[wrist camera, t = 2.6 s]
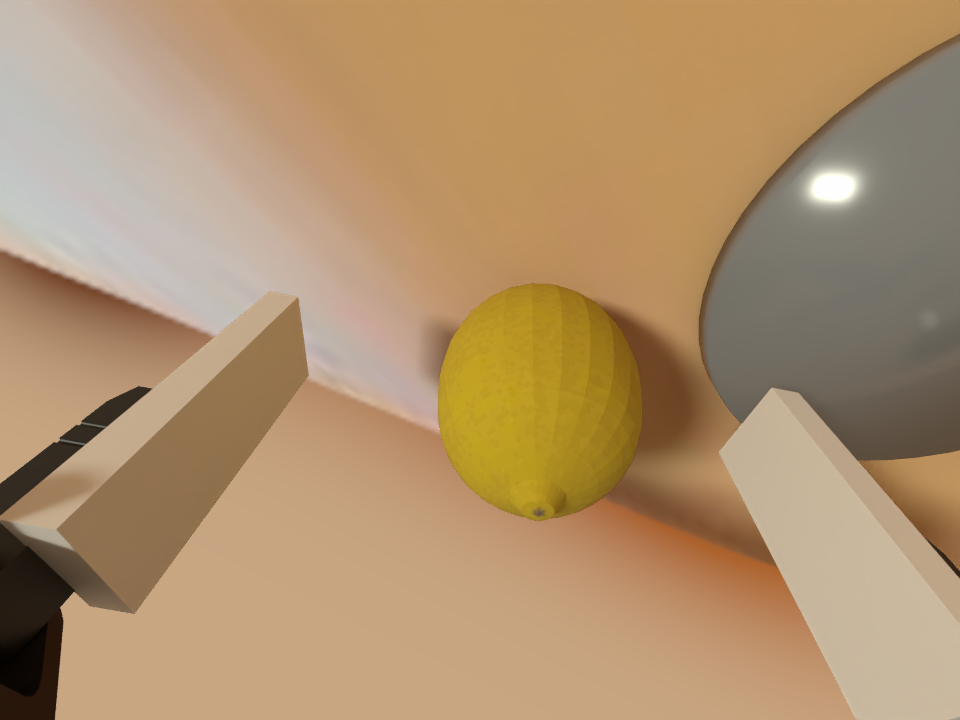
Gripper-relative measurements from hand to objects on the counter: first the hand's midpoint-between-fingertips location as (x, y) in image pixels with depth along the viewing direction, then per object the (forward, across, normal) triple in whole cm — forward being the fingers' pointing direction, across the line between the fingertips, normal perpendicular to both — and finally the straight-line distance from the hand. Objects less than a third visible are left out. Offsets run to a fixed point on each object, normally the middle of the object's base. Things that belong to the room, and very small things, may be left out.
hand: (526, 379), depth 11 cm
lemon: (+4, 0, 0) cm, 4 cm away
